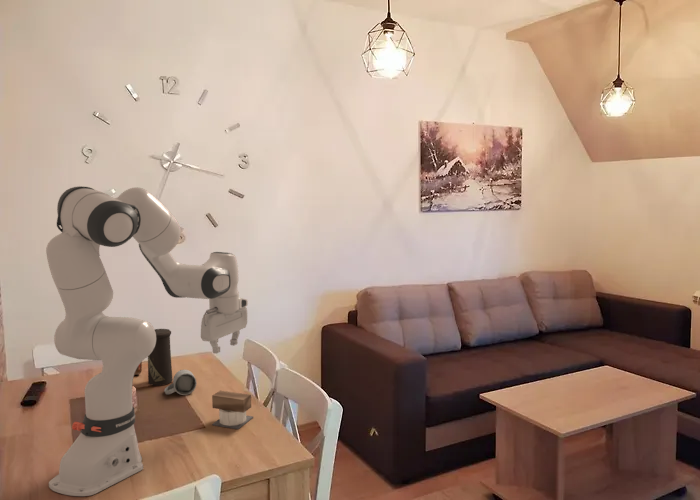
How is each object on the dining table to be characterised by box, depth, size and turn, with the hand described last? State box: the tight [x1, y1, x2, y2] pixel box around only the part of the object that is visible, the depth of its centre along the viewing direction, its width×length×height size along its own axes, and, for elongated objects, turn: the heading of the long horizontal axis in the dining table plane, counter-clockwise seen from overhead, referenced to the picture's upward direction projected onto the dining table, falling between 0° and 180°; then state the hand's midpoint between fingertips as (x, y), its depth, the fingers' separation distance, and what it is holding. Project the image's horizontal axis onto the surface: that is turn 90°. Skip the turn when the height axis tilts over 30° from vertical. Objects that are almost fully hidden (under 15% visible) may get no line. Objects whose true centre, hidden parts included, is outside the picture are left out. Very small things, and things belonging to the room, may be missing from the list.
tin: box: [134, 361, 143, 376], centre depth 217 cm, size 15×3×8 cm, turn 39°
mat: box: [211, 415, 254, 430], centre depth 170 cm, size 9×9×1 cm
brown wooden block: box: [211, 390, 252, 413], centre depth 169 cm, size 4×11×4 cm, turn 70°
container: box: [147, 328, 173, 387], centre depth 205 cm, size 9×9×20 cm
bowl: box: [218, 409, 247, 426], centre depth 170 cm, size 8×8×4 cm
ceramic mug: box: [163, 369, 197, 396], centre depth 195 cm, size 11×8×8 cm
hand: (225, 348), depth 169 cm, fingers open, 8 cm apart
